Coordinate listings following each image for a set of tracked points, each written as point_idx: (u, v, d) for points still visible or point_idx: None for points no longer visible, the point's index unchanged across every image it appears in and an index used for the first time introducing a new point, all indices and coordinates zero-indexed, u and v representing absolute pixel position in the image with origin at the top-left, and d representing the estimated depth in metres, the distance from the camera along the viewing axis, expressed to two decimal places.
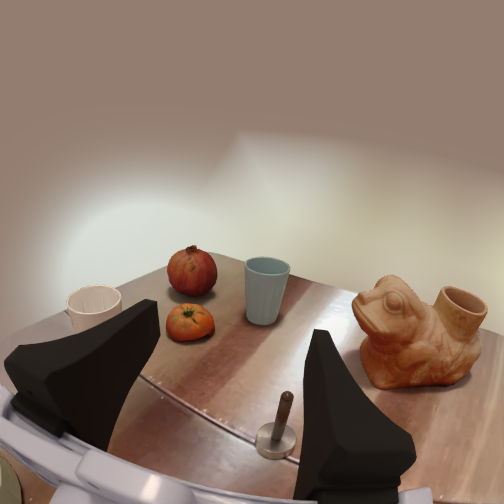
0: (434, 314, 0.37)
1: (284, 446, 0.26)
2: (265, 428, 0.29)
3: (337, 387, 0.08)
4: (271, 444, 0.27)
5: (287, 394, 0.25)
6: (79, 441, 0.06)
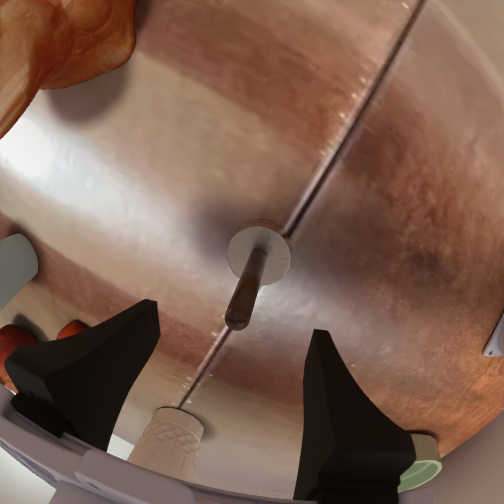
0: None
1: (277, 247, 0.20)
2: (242, 272, 0.21)
3: (337, 387, 0.08)
4: (274, 265, 0.20)
5: (237, 325, 0.14)
6: (79, 441, 0.06)
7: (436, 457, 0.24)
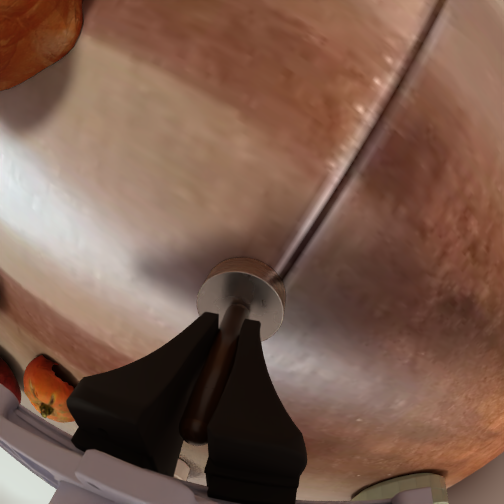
0: None
1: (265, 299, 0.14)
2: None
3: (243, 375, 0.09)
4: (261, 322, 0.15)
5: (196, 442, 0.08)
6: None
7: (443, 498, 0.19)
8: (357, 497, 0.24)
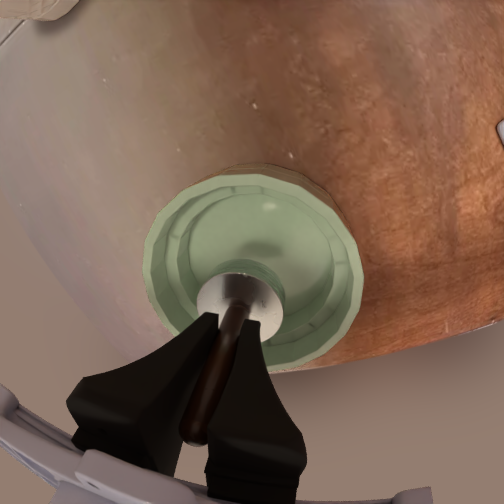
0: None
1: (265, 300, 0.14)
2: (218, 329, 0.15)
3: (243, 375, 0.09)
4: None
5: (196, 443, 0.08)
6: None
7: None
8: (209, 175, 0.18)
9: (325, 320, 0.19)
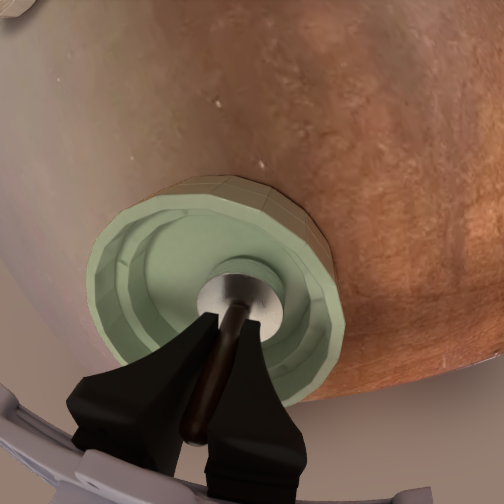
0: None
1: (265, 300, 0.14)
2: (218, 329, 0.15)
3: (243, 375, 0.09)
4: None
5: (196, 443, 0.08)
6: None
7: None
8: None
9: (300, 363, 0.16)
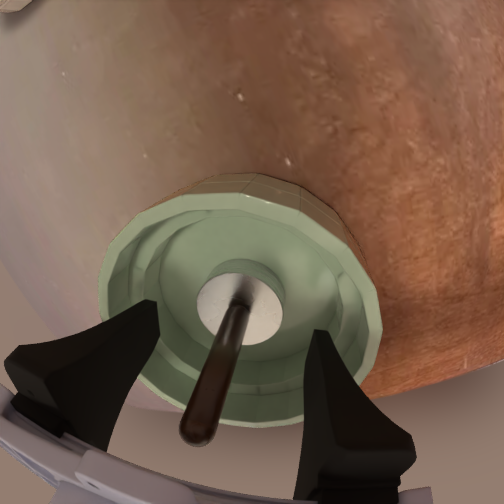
0: None
1: (265, 300, 0.14)
2: (217, 329, 0.15)
3: (337, 387, 0.08)
4: (260, 323, 0.15)
5: (196, 444, 0.08)
6: (79, 441, 0.06)
7: None
8: (180, 189, 0.14)
9: None
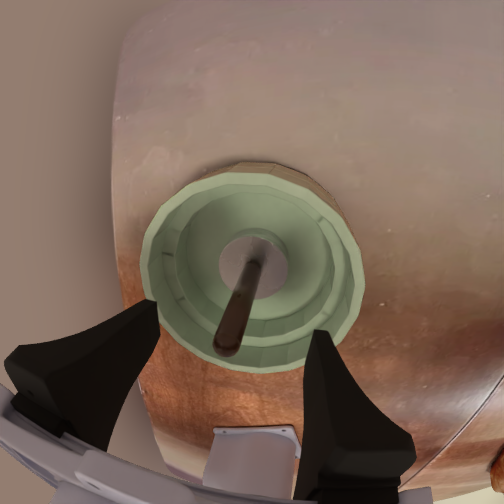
0: None
1: (257, 291, 0.19)
2: (240, 246, 0.18)
3: (337, 387, 0.08)
4: (238, 280, 0.19)
5: (221, 352, 0.12)
6: (79, 441, 0.06)
7: None
8: None
9: (184, 310, 0.20)
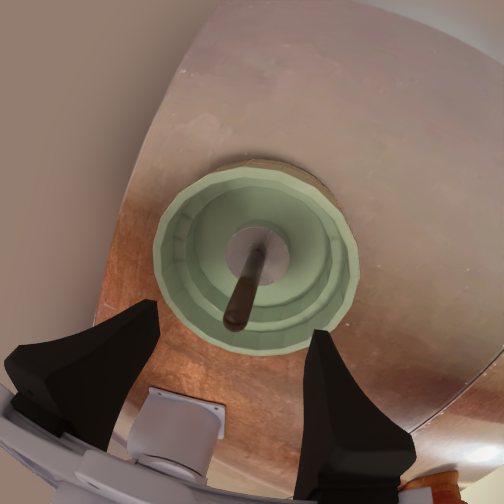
0: None
1: None
2: (255, 234, 0.19)
3: (337, 387, 0.08)
4: (239, 262, 0.20)
5: (230, 326, 0.13)
6: (79, 441, 0.06)
7: None
8: None
9: (178, 272, 0.21)
